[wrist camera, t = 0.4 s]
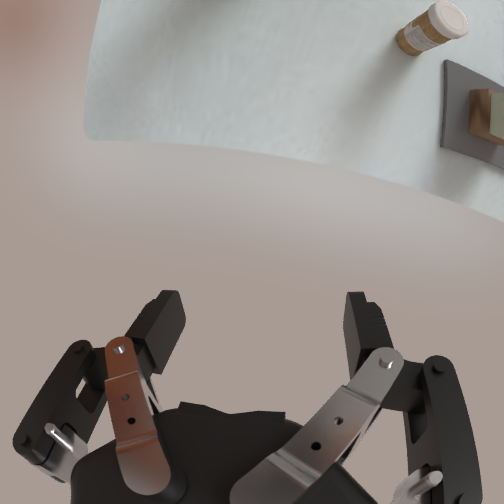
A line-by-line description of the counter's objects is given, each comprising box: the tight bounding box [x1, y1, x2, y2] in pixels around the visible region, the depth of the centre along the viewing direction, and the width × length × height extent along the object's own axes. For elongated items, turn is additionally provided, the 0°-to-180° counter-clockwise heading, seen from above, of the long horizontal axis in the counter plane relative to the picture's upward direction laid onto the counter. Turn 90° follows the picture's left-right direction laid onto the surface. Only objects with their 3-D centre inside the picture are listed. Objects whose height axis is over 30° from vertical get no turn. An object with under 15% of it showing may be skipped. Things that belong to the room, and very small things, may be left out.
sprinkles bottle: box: [396, 0, 469, 55], centre depth 19 cm, size 5×5×14 cm
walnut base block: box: [468, 89, 504, 146], centre depth 24 cm, size 7×7×5 cm
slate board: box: [440, 60, 504, 169], centre depth 27 cm, size 14×16×1 cm
